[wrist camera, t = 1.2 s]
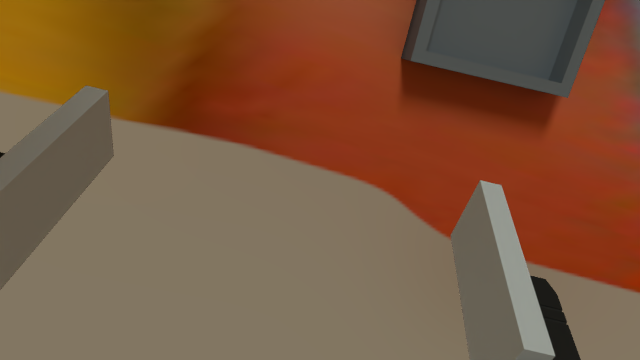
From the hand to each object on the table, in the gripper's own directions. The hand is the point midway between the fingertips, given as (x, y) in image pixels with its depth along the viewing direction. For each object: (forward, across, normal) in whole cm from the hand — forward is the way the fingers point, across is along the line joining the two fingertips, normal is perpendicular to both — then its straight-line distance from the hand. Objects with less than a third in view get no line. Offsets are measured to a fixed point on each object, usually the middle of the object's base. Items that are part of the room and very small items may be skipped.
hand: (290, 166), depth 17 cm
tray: (+29, +13, +1) cm, 32 cm away
